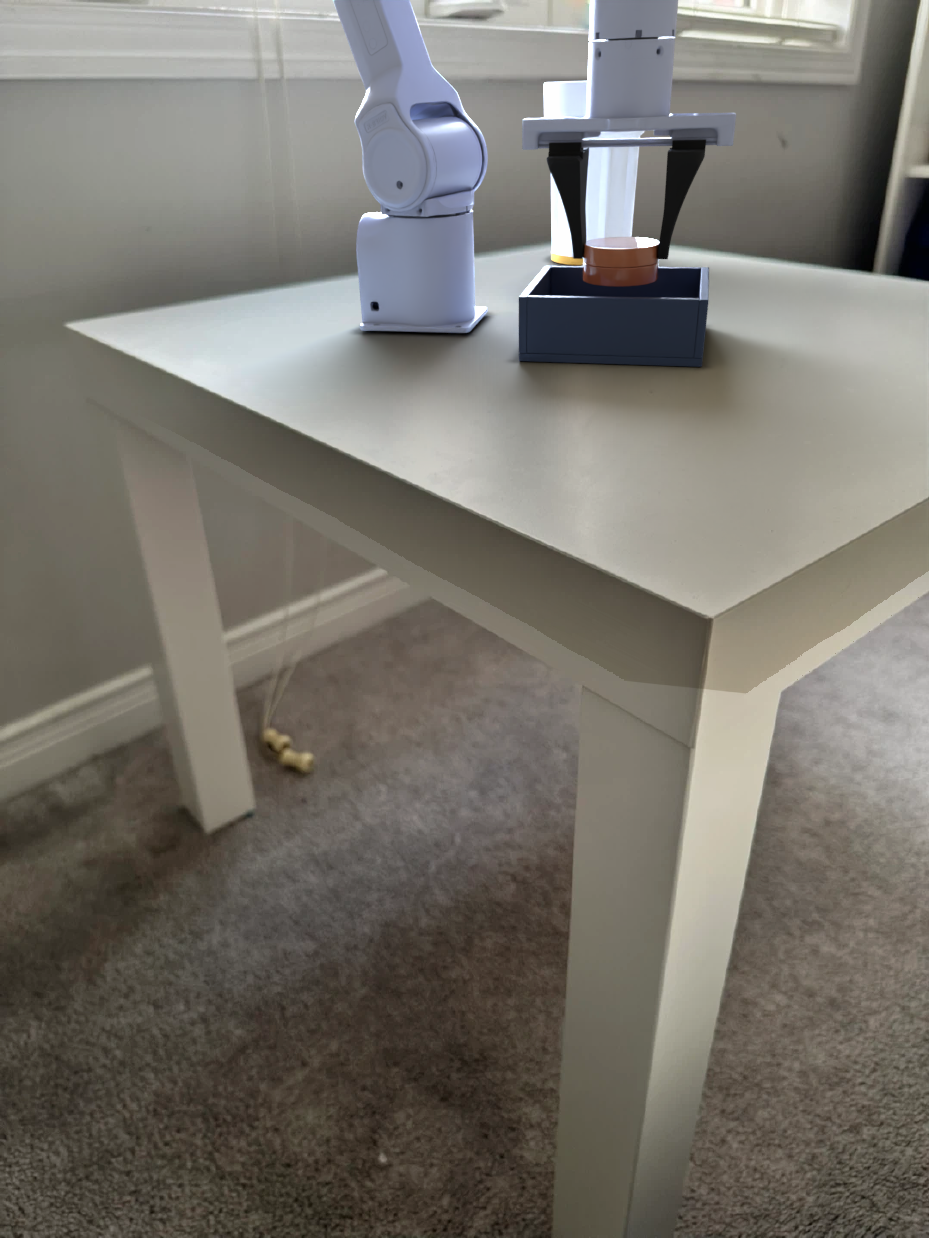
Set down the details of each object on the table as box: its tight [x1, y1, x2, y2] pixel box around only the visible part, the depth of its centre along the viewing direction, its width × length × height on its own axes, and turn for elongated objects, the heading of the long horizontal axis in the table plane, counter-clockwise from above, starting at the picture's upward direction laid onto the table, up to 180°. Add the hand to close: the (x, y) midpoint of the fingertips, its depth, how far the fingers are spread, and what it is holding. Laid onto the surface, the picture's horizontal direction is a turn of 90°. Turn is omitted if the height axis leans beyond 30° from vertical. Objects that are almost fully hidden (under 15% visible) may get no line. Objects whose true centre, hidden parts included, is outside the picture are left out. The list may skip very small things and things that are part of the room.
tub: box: [518, 265, 710, 368], centre depth 70 cm, size 13×12×5 cm
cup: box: [543, 79, 646, 266], centre depth 99 cm, size 11×11×17 cm
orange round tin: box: [582, 236, 660, 287], centre depth 68 cm, size 6×6×3 cm
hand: (620, 257), depth 68 cm, fingers closed on orange round tin, 5 cm apart
